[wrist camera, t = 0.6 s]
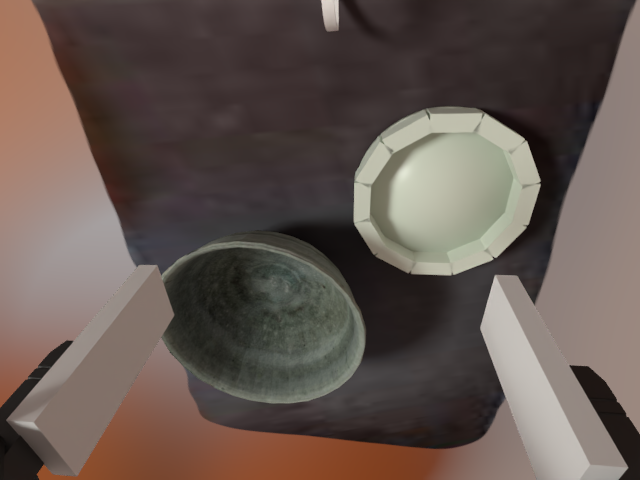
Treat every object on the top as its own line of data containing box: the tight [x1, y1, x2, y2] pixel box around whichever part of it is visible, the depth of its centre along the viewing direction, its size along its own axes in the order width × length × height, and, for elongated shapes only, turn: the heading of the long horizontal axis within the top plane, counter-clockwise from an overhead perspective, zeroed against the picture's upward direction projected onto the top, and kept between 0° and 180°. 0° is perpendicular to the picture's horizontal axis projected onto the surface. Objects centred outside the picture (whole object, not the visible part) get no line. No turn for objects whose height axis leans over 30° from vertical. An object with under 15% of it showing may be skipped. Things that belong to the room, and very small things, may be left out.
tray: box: [354, 106, 541, 275], centre depth 34 cm, size 16×16×3 cm
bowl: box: [161, 230, 366, 403], centre depth 39 cm, size 21×21×10 cm
